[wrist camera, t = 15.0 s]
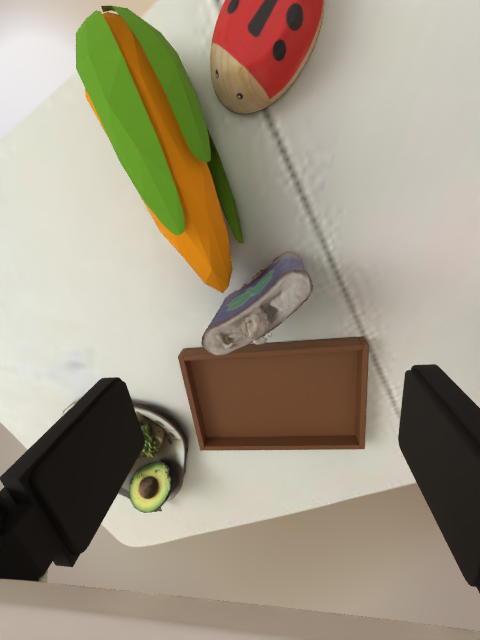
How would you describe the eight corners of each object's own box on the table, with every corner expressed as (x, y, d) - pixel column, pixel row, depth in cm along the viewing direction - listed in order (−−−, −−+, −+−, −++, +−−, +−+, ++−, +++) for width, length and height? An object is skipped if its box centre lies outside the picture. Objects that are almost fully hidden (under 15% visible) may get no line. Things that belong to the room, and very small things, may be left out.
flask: (291, 245, 25) (302, 268, 15) (309, 270, 26) (331, 308, 16) (216, 302, 28) (185, 353, 18) (234, 323, 29) (214, 383, 19)
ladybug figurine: (193, 83, 21) (179, 60, 18) (269, -76, 18) (268, -141, 15) (262, 138, 22) (260, 125, 19) (348, -4, 19) (364, -49, 15)
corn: (108, -89, 13) (264, 288, 19) (172, 12, 20) (272, 265, 26) (9, 13, 15) (176, 321, 21) (97, 72, 22) (204, 292, 28)
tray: (363, 336, 28) (369, 344, 26) (360, 437, 32) (364, 449, 31) (182, 348, 31) (177, 356, 29) (203, 439, 35) (200, 450, 34)
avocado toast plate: (57, 475, 41) (32, 506, 37) (45, 378, 34) (12, 402, 30) (181, 504, 41) (170, 539, 36) (194, 410, 34) (182, 439, 29)
